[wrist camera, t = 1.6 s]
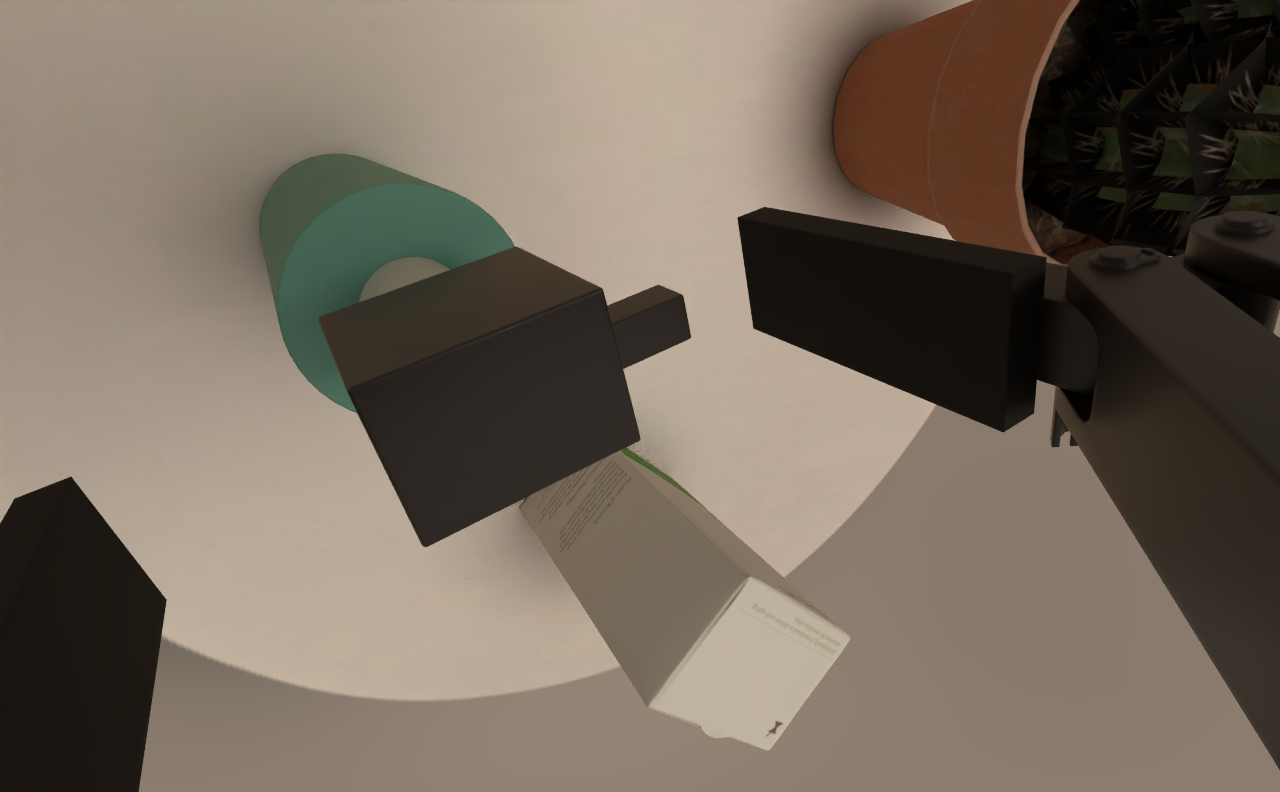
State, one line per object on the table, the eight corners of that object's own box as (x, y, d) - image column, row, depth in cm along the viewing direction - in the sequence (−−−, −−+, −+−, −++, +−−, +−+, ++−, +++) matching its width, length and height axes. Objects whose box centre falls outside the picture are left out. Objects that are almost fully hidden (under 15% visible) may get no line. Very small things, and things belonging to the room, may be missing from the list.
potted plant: (973, 174, 46) (1556, 226, 26) (825, 271, 42) (1366, 420, 22) (955, -54, 38) (1750, -233, 18) (774, 40, 35) (1514, -55, 15)
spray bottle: (303, 331, 29) (402, 643, 12) (227, 180, 26) (219, 316, 9) (466, 272, 31) (736, 462, 15) (415, 128, 28) (684, 158, 11)
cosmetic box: (673, 478, 42) (861, 636, 29) (609, 564, 42) (771, 759, 29) (580, 414, 37) (758, 571, 24) (507, 512, 37) (649, 719, 24)
